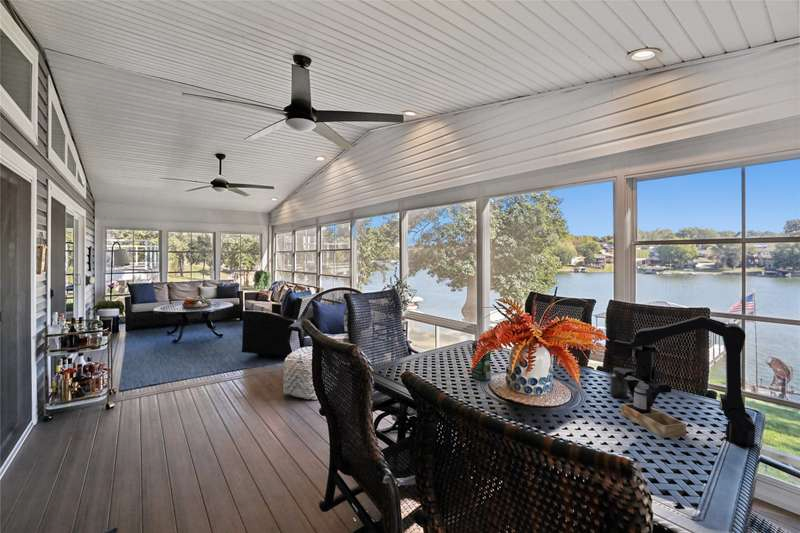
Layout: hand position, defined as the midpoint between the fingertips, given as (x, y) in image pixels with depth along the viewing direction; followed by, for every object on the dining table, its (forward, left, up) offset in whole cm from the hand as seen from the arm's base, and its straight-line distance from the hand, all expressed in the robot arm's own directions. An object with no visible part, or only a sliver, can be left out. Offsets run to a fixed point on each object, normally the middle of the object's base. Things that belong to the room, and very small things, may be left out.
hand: (642, 402), depth 140 cm
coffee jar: (+53, +42, -7) cm, 68 cm away
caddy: (-4, 0, -6) cm, 8 cm away
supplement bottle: (+21, -9, -7) cm, 23 cm away
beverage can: (0, 0, -7) cm, 7 cm away
